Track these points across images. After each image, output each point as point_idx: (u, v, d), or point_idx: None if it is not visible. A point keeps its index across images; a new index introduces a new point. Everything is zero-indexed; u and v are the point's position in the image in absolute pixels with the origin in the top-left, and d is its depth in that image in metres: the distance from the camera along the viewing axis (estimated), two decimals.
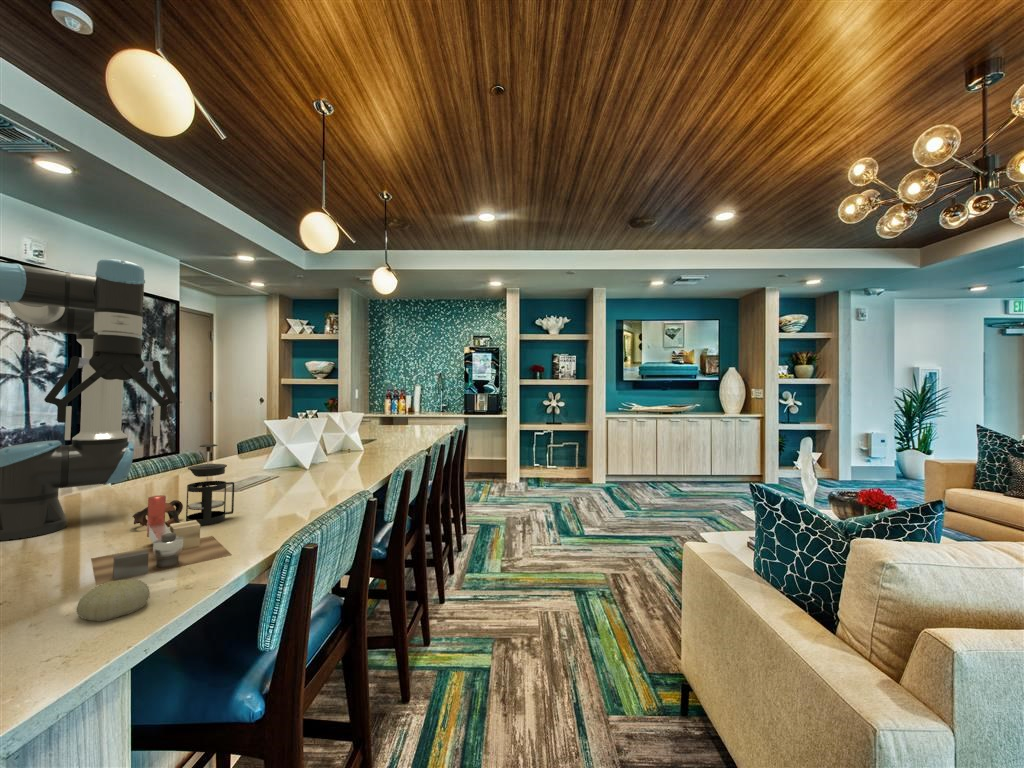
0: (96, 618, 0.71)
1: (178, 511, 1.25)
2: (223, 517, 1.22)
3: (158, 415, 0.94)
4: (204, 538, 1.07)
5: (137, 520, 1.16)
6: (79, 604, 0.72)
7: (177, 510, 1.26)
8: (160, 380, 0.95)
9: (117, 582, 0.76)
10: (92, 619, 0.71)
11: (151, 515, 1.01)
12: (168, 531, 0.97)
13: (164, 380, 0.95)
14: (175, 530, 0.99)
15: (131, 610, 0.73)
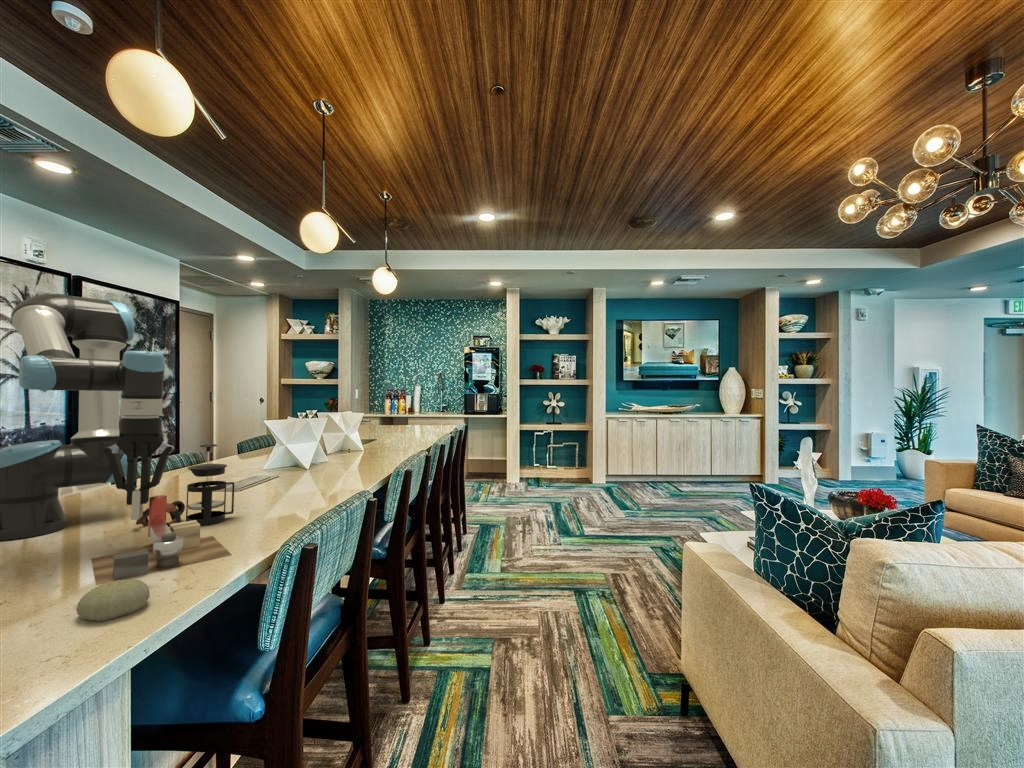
0: (96, 618, 0.71)
1: (180, 511, 1.25)
2: (223, 517, 1.22)
3: (138, 500, 1.00)
4: (204, 538, 1.07)
5: (140, 521, 1.16)
6: (79, 604, 0.72)
7: (179, 510, 1.25)
8: (158, 463, 1.02)
9: (117, 582, 0.76)
10: (92, 619, 0.71)
11: (153, 515, 1.02)
12: (169, 531, 0.97)
13: (161, 465, 1.03)
14: (175, 530, 0.99)
15: (131, 610, 0.73)
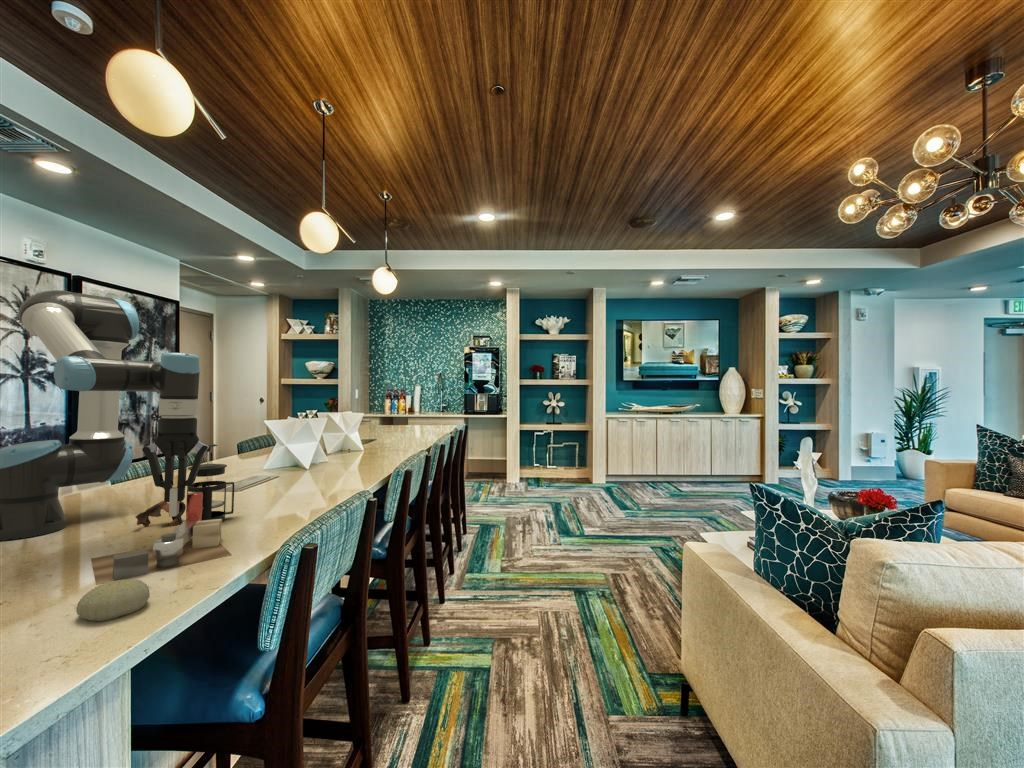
0: (96, 618, 0.71)
1: (181, 512, 1.25)
2: (223, 517, 1.22)
3: (175, 497, 1.03)
4: None
5: (140, 521, 1.15)
6: (79, 604, 0.72)
7: (180, 511, 1.25)
8: (194, 462, 1.05)
9: (117, 582, 0.76)
10: (92, 619, 0.71)
11: (187, 511, 1.05)
12: (186, 529, 0.99)
13: (197, 463, 1.06)
14: (194, 528, 1.00)
15: (131, 610, 0.73)
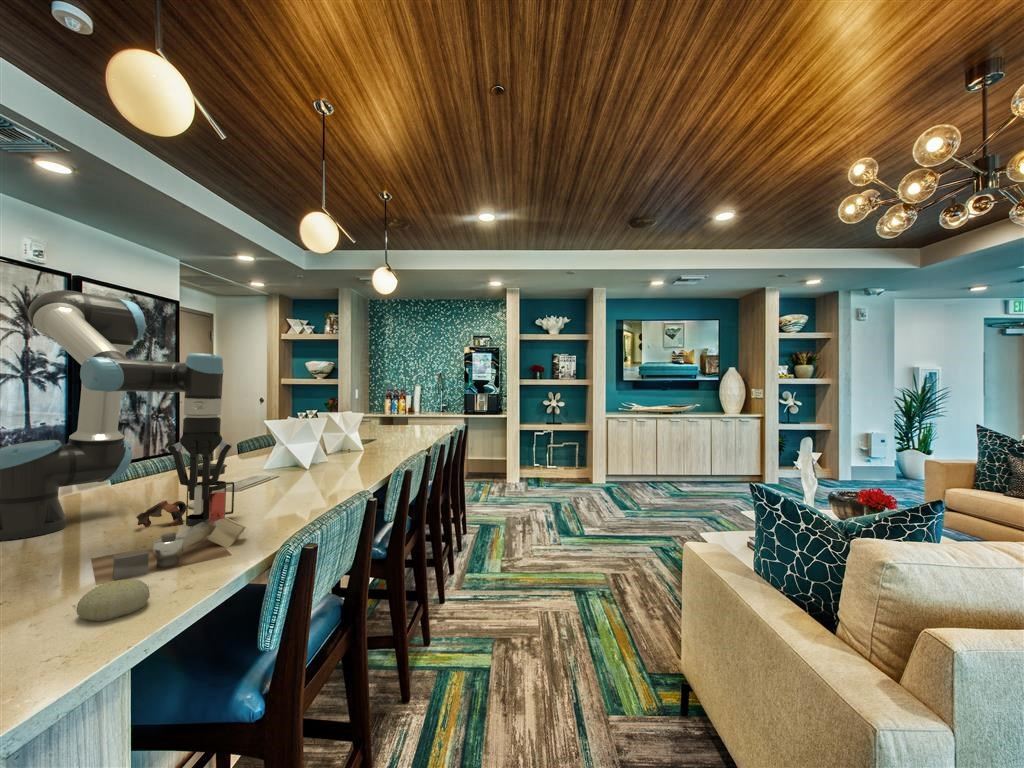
0: (96, 618, 0.71)
1: (182, 512, 1.25)
2: None
3: (199, 495, 1.05)
4: (204, 538, 1.07)
5: (141, 521, 1.15)
6: (79, 604, 0.72)
7: (181, 511, 1.25)
8: (218, 460, 1.07)
9: (117, 582, 0.76)
10: (92, 619, 0.71)
11: (209, 510, 1.07)
12: (196, 529, 0.99)
13: (221, 462, 1.07)
14: (222, 521, 1.03)
15: (131, 610, 0.73)
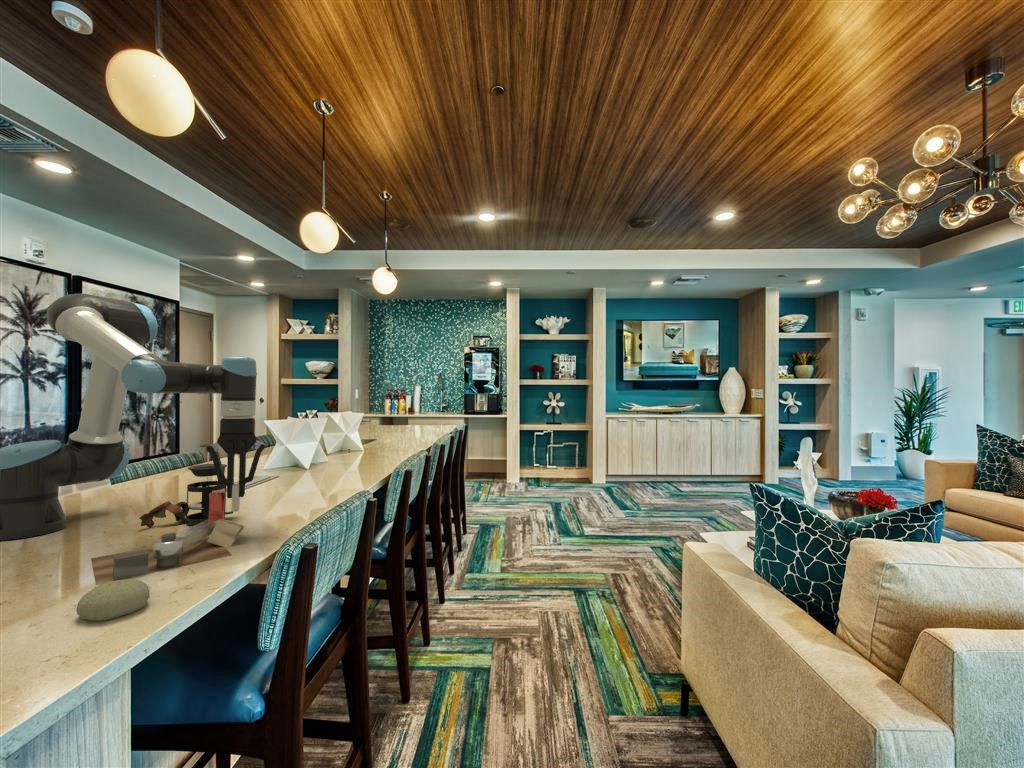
0: (96, 618, 0.71)
1: (185, 512, 1.24)
2: None
3: (237, 493, 1.09)
4: (204, 538, 1.07)
5: (145, 522, 1.14)
6: (79, 604, 0.72)
7: (184, 511, 1.24)
8: (254, 460, 1.11)
9: (117, 582, 0.76)
10: (92, 619, 0.71)
11: (209, 510, 1.07)
12: (196, 529, 0.99)
13: (256, 461, 1.11)
14: (219, 522, 1.02)
15: (131, 610, 0.73)
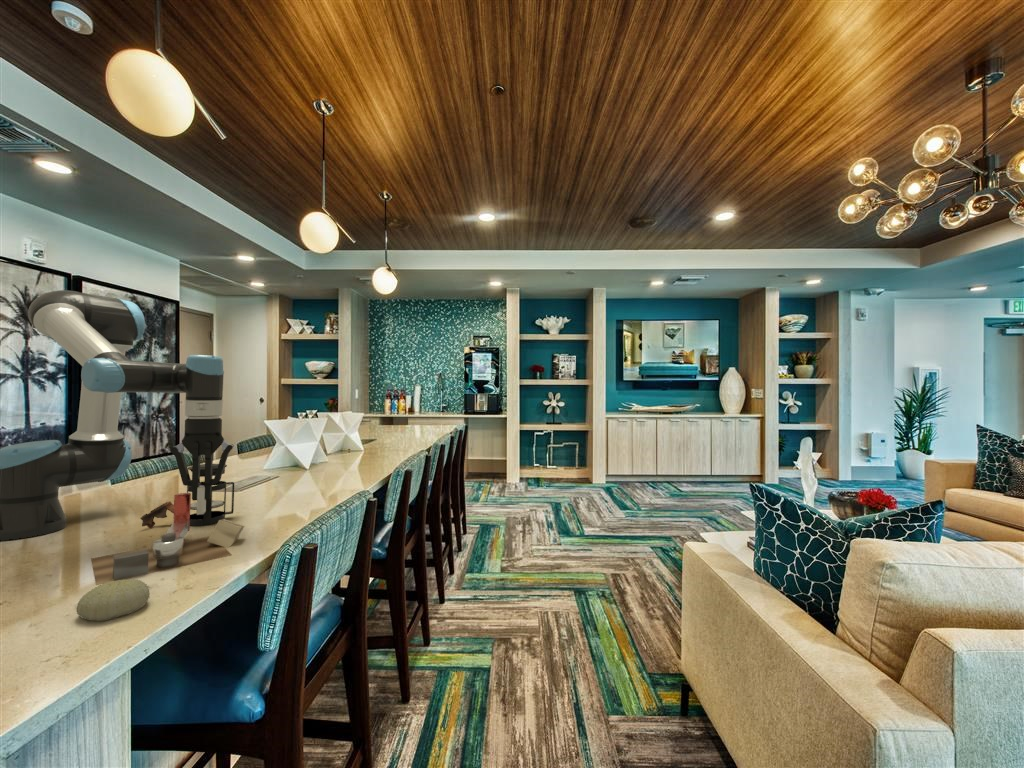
0: (96, 618, 0.71)
1: None
2: (223, 517, 1.22)
3: (202, 495, 1.06)
4: (204, 538, 1.07)
5: (146, 522, 1.14)
6: (79, 604, 0.72)
7: None
8: (220, 461, 1.08)
9: (117, 582, 0.76)
10: (92, 619, 0.71)
11: (176, 512, 1.04)
12: (180, 530, 0.98)
13: (223, 462, 1.08)
14: (219, 522, 1.03)
15: (131, 610, 0.73)
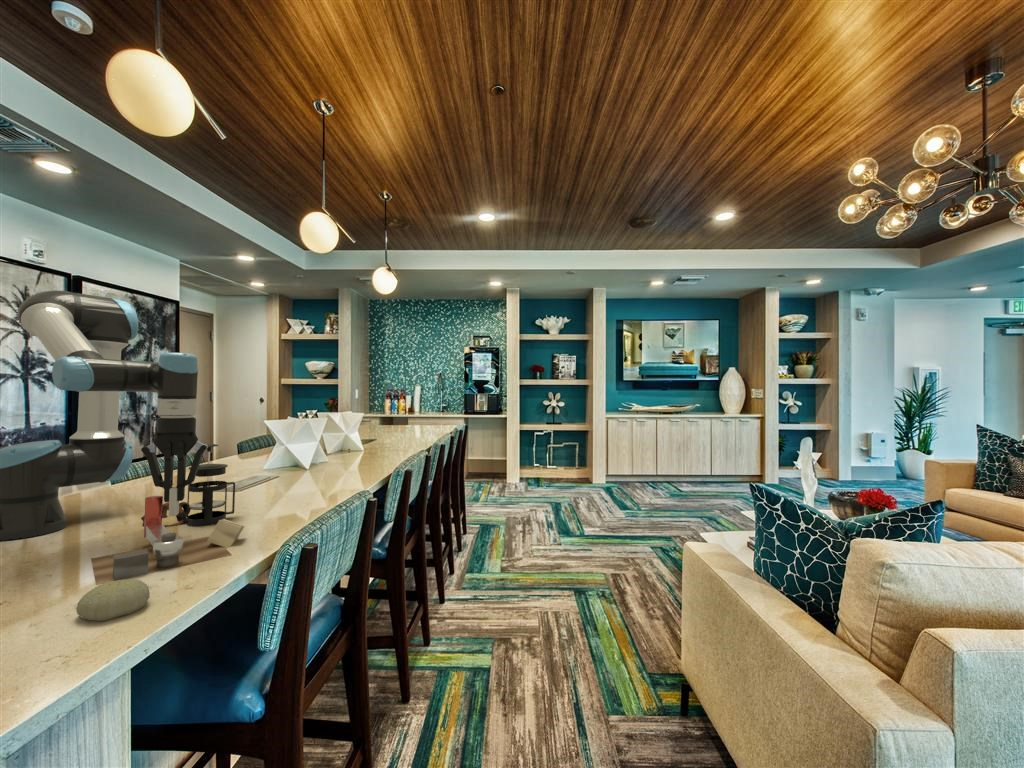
0: (96, 618, 0.71)
1: (186, 513, 1.24)
2: (224, 517, 1.22)
3: (175, 497, 1.04)
4: (204, 538, 1.07)
5: None
6: (79, 604, 0.72)
7: (185, 512, 1.24)
8: (194, 461, 1.05)
9: (117, 582, 0.76)
10: (92, 619, 0.71)
11: (149, 516, 1.01)
12: (167, 531, 0.97)
13: (196, 463, 1.06)
14: (219, 522, 1.03)
15: (131, 610, 0.73)
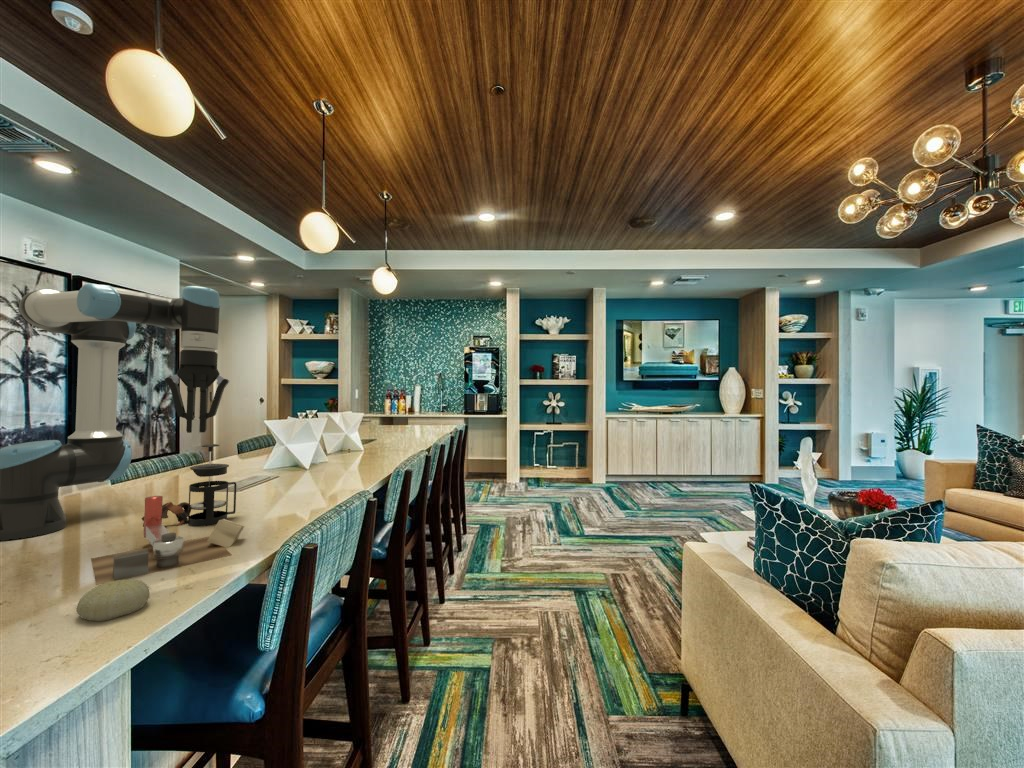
0: (95, 618, 0.71)
1: (187, 513, 1.23)
2: (225, 517, 1.22)
3: (197, 428, 1.06)
4: (204, 538, 1.07)
5: None
6: (79, 604, 0.72)
7: (186, 512, 1.24)
8: (216, 394, 1.08)
9: (117, 582, 0.76)
10: (92, 619, 0.71)
11: (148, 516, 1.01)
12: (166, 531, 0.97)
13: (218, 396, 1.08)
14: (219, 522, 1.03)
15: (131, 610, 0.73)
